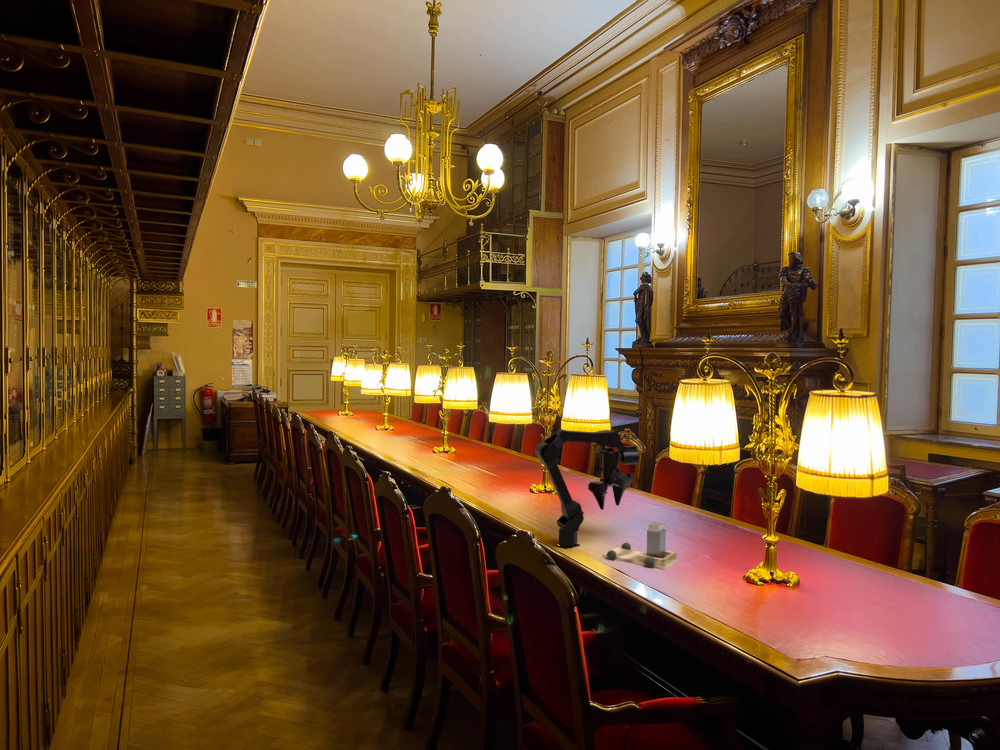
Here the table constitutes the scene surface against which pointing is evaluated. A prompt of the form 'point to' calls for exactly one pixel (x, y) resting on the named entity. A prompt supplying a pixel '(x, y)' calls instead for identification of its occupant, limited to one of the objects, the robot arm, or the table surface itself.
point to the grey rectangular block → (656, 540)
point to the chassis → (640, 557)
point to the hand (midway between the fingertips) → (609, 507)
